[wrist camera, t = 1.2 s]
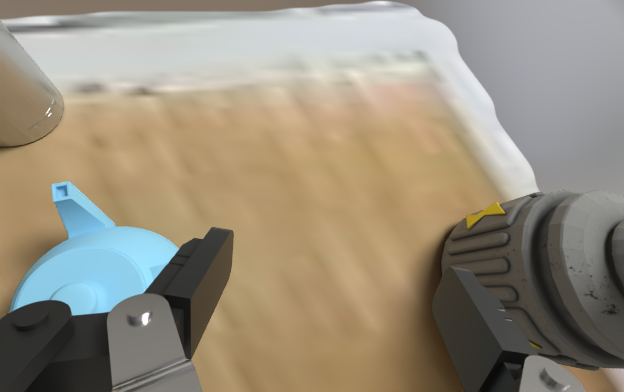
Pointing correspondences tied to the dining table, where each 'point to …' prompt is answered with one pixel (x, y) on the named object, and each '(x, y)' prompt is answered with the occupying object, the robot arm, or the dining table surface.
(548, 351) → the toy tesla coil
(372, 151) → the dining table surface
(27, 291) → the teapot
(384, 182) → the dining table surface
